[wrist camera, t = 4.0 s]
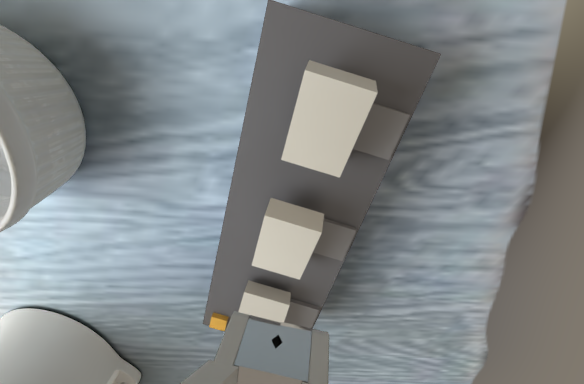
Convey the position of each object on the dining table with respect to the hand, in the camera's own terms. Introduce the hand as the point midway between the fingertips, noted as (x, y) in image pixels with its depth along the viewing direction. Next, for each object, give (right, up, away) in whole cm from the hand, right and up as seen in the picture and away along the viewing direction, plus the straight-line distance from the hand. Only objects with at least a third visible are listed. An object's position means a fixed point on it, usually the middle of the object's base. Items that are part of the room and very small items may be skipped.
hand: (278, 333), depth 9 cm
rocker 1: (0, +2, +8) cm, 8 cm away
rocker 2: (-2, -4, +11) cm, 12 cm away
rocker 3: (+2, +8, +5) cm, 9 cm away
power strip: (0, +2, +13) cm, 14 cm away
